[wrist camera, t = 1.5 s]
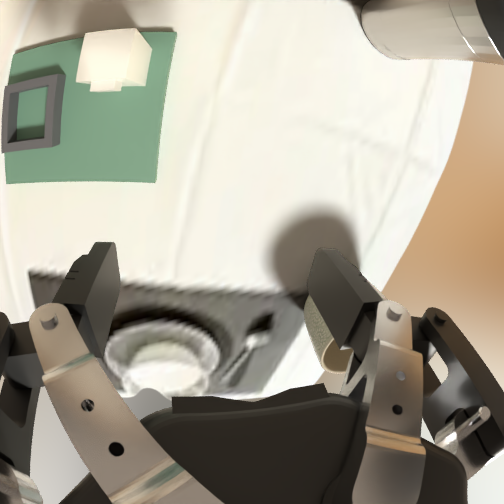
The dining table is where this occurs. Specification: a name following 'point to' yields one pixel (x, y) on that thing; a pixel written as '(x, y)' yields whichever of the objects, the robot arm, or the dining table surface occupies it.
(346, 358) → the planter
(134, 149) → the board
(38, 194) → the dining table surface
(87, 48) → the plug
